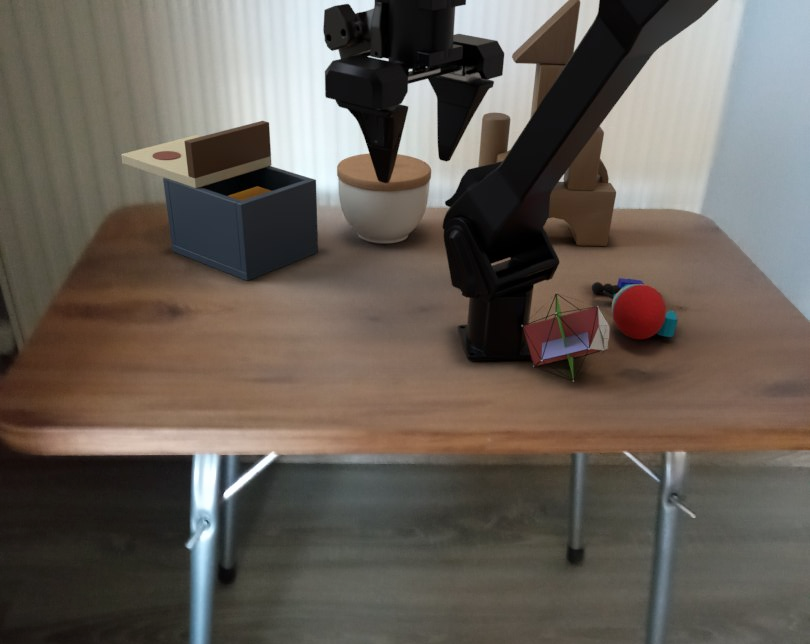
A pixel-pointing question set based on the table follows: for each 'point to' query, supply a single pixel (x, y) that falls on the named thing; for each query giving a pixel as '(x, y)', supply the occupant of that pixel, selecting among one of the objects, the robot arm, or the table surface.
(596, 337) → the geometric puzzle
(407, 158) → the trinket box
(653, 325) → the toy figure
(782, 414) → the table surface
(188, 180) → the lid
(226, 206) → the box
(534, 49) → the wooden toy
